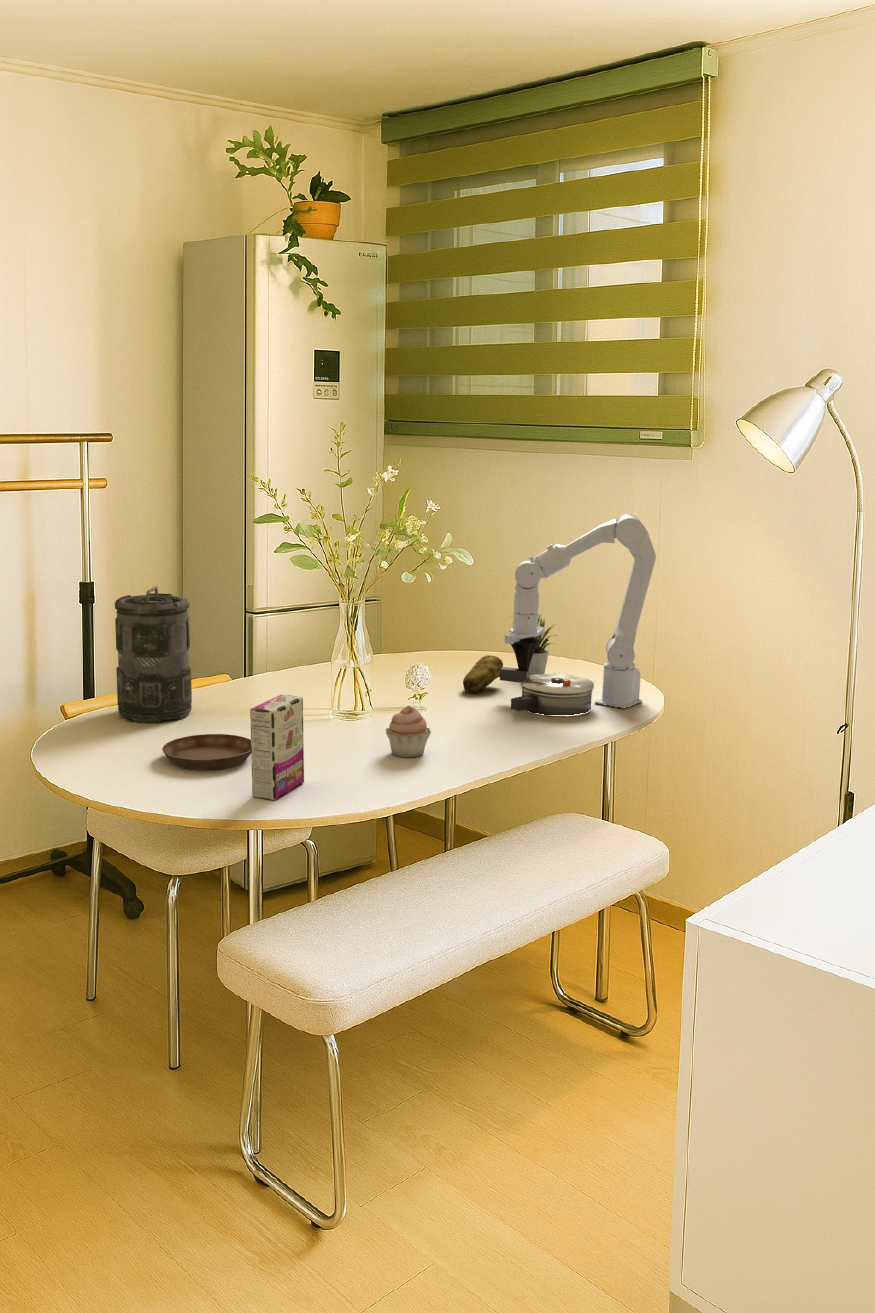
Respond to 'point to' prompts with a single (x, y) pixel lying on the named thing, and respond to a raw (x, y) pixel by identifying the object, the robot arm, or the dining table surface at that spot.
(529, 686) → the lid
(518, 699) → the pot
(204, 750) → the plant saucer
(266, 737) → the candy bar box
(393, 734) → the cupcake
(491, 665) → the potato
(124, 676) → the canister
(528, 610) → the robot arm
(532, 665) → the house plant
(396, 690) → the dining table surface
